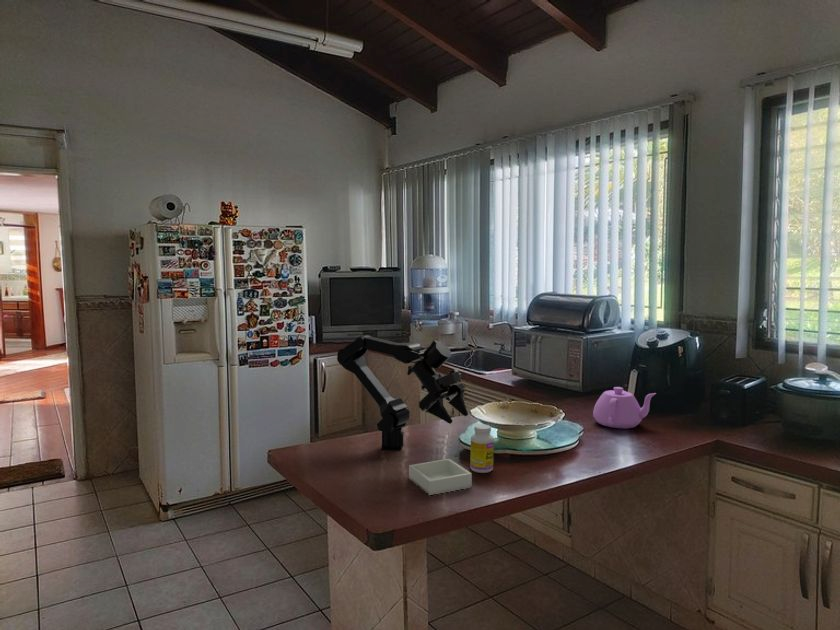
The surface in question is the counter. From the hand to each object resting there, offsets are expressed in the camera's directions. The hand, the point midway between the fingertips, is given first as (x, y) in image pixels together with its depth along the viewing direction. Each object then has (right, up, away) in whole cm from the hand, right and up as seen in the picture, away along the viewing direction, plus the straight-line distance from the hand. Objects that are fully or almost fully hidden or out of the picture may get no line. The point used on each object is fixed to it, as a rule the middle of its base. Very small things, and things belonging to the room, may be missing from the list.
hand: (459, 419), depth 173 cm
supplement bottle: (+6, -14, -4) cm, 16 cm away
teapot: (+63, -10, +41) cm, 76 cm away
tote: (-6, -15, -14) cm, 22 cm away
